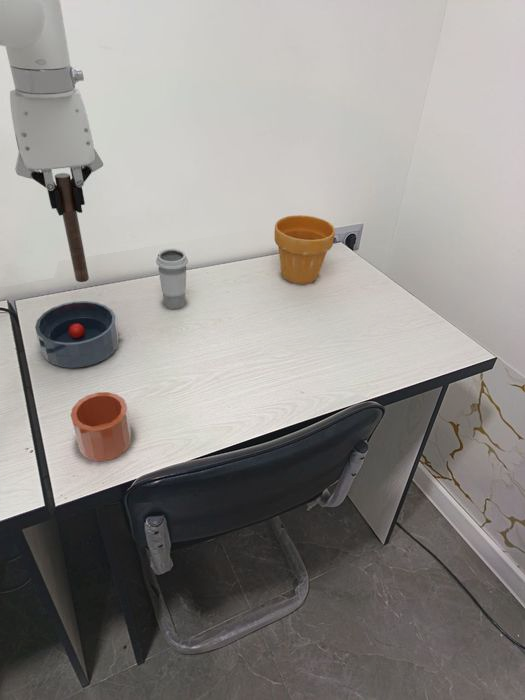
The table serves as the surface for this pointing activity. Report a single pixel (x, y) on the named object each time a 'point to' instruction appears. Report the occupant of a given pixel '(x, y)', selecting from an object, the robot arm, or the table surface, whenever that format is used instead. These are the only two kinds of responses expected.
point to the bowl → (83, 350)
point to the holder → (101, 426)
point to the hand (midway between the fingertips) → (68, 209)
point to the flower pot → (303, 246)
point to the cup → (172, 277)
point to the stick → (72, 226)
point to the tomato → (76, 330)
